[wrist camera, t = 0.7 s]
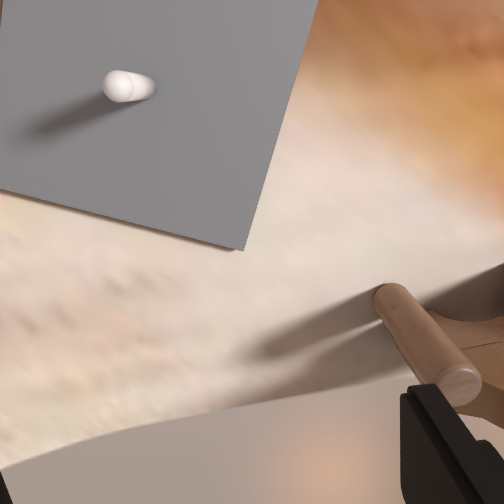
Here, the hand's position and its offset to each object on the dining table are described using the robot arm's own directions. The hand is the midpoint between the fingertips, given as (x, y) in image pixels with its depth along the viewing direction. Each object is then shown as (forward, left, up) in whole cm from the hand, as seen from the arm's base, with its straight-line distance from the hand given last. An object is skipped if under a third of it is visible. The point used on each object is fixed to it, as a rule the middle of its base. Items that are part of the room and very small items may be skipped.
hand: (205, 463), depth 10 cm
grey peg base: (-6, -7, -27) cm, 29 cm away
